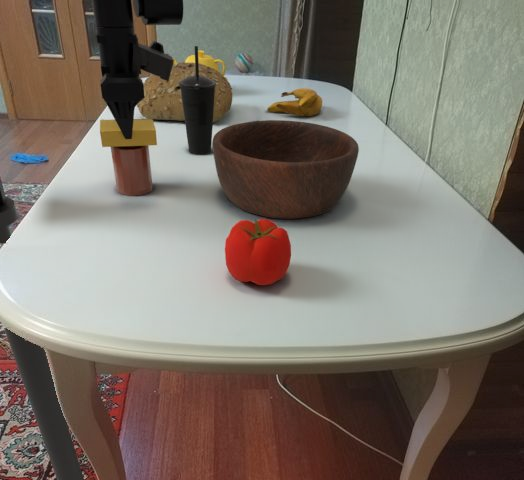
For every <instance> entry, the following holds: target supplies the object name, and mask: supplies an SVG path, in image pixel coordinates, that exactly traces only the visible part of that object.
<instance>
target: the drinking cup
mask: <svg viewBox="0 0 524 480" xmlns="http://www.w3.org/2000/svg"><path fill="white" fill-rule="evenodd" d="M198 51H199V45H194V55H195V72H196V75H193V76H189V77H186V78H185V79H183V80H181V81H179V86H180V88H181V95H182V103H183V110H184V118H185V121H184V124H185V125H184V126H185V133H186V139H187V146H188V147H187V148H188V152H189V153H190V154H193V155H197V156H198V155H200V156H201V155H208V154H210V153H211V152H212V142H213V125H214V124H213V123H214V122H213V111H214V96H215V87H216V82H215V81H213V80H211V79H209V78H207V77H205V76H200V75H199V61H198Z"/></svg>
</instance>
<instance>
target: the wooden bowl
mask: <svg viewBox="0 0 524 480" xmlns="http://www.w3.org/2000/svg"><path fill="white" fill-rule="evenodd" d="M211 145H212V152H213V159H214V165H215V170H216V174H217V179H218V181H219V184H220V187H221V188H222V190H223V193H224V194H225V196H226V197H227V199H228V200H229V201H230V202H231V203H232V204H233V205H234V206H236V207H237V208H239V209H240V210H242V211H245V212H246V213H250V214H254V215H255V216H256V215H257V216H261V217H265V218H271V219H284V220H285V219H286V220H289V219H291V220H294V219H295V220H296V219H305V218H312V217H316V216H319V215H322V214H324V213H326V212H328V211H330V210H331V209H332V208H334V207H335V206H336V205H337V204H338V203H339V202H340V200H341V199H342V197H343V196H344V194H345V193H346V191H347V189H348V187H349V184H350V182H351V179H352V177H353V174H354V171H355V167H356V163H357V160H358V156H359V151H360V147H359V144H358V142H357V140H355V138H354V137H352V136H351V135H350V134H348V133H345V132H344V131H341V130H339V129H336V128H332V127H330V126H326V125H322V124H317V123H311V122H304V121H298V120H296V121H295V120H282V119H270V120H269V119H266V120H252V121H244V122H240V123H235V124H232V125H231V124H230V125H229V126H226V127H223V128H222V129H220V130H218V131H217V132H216V133H215V134H214V135H213V136H212V142H211Z"/></svg>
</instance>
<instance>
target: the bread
mask: <svg viewBox="0 0 524 480" xmlns="http://www.w3.org/2000/svg"><path fill="white" fill-rule="evenodd" d="M220 72H221V71H220ZM220 72H218V71H217V70H215V69H213V68H211V67H209V66H205V65H202V64H199V75H200V76H205V77H207V78H209V79H211V80H213V81H215V82H216V87H215V96H214V111H213V123H216V122H219V121H221V120H222V119H223V118H224V117H225V116H227V114H228V113H229V112H230V110H231V107H232V104H233V94H234V93H233V91H232V90H233V88H232V85H231V83H230V82H229V80H228V81H227V80H226V78H227V77H226V76H225V75H224V76H222V72H221V73H220ZM193 75H196V72H195V63H185V61H184V62H183V61H181V62H179V63H178V64H174V63H173V66H172V70H171V74H170V78H169V81H166V80H163V79H161V78H160V77H159V76H156V75H154V74H151V73H150V75H149V76H148V77H147V78H146V79H145V80H144V82H143V86H144V96H145V98H143V100H142V101H140V102H139V103H138V104H137V105H136V107H137V108H138V111H139V113H140V115H141V116H143V117H144V118H145V119H153V120H160V121H161V120H162V121H182V122H185V118H184V110H183V103H182V95H181V88H180V86H179V81H181V80H183V79H185V78H186V77H189V76H193ZM225 77H226V78H225Z"/></svg>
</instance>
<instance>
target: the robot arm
mask: <svg viewBox="0 0 524 480" xmlns="http://www.w3.org/2000/svg"><path fill="white" fill-rule="evenodd" d="M91 3H92V12H93V18H94V24H95V32H96V42H97V48H98V55H99V61H100V71H101V79H100V82H99V83H100V92H101V98H102V99H103V101H104V103H105V104H106V105H107V107H108V110H109V112H110V113H111V115H112V117H113V118H114V119H113V120H116V122H117V124H118V126H119V128H120V130H121V132H122V134H123V136H124V138H125V139H132V131H133V119H135V118H134V117H135V109H136V107H137V104H138V103H139V102H140V101H142V100H143V98H145V96H144V86H143V83H144V82H143V79H142V78H141V77H140V75H142V71H144V72H146V73H148V74H150V75H151V74H154V75H156V76H159V77H160V78H161V79H163V80H166V81H169V78H170V74H171V70H172V66H173V62H174V60H173V58H174V57H173V56H172V55H170V54H168V53H165V50H164V44H163V43H161V42H158V41H156V40H153V41H152V42H151V43H150V44H149V46H148V45H146V44H142V43H140V42H139V38H138V36H137V33H136V31H135V23H134V22H135V21H134V15H135V17H136V18H140V19H141V22H142V24H143V25H144V26H173V25H174V26H178V25H179V26H180V25H181V24H182V22H183V19H184V18H183V17H184V0H91ZM133 12H134V14H133ZM4 188H5V187H4V184H3V182H2V179H1V177H0V212H1V210H2V207H3V205H4V203H5V201H6V197H7V196H6V193H5V189H4Z"/></svg>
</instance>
